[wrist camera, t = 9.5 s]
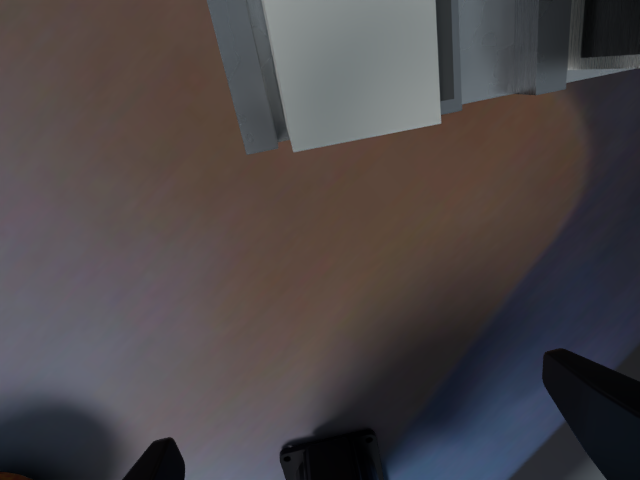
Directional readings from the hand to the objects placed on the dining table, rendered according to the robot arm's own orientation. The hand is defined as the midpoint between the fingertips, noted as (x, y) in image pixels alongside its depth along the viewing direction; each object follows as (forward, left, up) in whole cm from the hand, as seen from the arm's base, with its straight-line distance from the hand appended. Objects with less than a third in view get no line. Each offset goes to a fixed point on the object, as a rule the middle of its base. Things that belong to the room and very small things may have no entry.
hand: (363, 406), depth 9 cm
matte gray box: (+8, -2, -10) cm, 13 cm away
